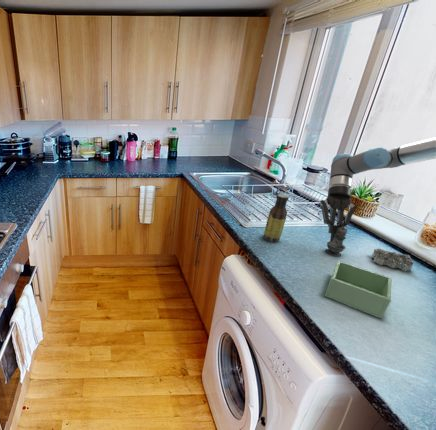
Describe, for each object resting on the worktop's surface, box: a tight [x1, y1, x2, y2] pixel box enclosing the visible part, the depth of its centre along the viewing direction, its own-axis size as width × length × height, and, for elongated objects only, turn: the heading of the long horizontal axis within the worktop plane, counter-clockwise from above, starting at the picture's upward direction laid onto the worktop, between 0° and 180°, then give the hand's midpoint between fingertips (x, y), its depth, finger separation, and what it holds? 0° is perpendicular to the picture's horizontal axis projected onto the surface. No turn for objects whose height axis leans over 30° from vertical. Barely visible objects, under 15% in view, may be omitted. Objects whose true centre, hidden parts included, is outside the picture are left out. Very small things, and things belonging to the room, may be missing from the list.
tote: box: [323, 260, 393, 319], centre depth 88 cm, size 14×14×7 cm
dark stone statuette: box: [324, 226, 348, 258], centre depth 109 cm, size 6×6×12 cm
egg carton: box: [371, 248, 415, 272], centre depth 105 cm, size 11×8×4 cm
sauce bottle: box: [263, 193, 289, 243], centre depth 117 cm, size 6×6×20 cm
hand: (333, 241), depth 114 cm, fingers closed
